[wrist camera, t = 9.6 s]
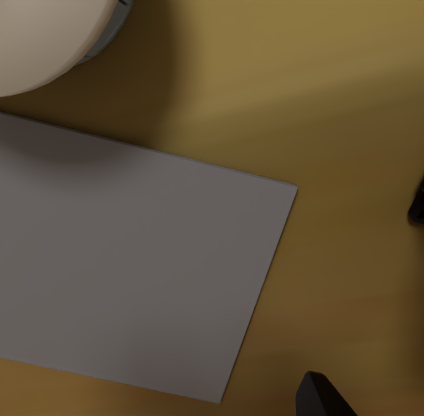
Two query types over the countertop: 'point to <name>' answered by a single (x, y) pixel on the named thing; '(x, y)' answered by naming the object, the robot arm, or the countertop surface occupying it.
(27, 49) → the lid
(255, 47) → the countertop surface
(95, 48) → the bowl
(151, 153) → the mat
